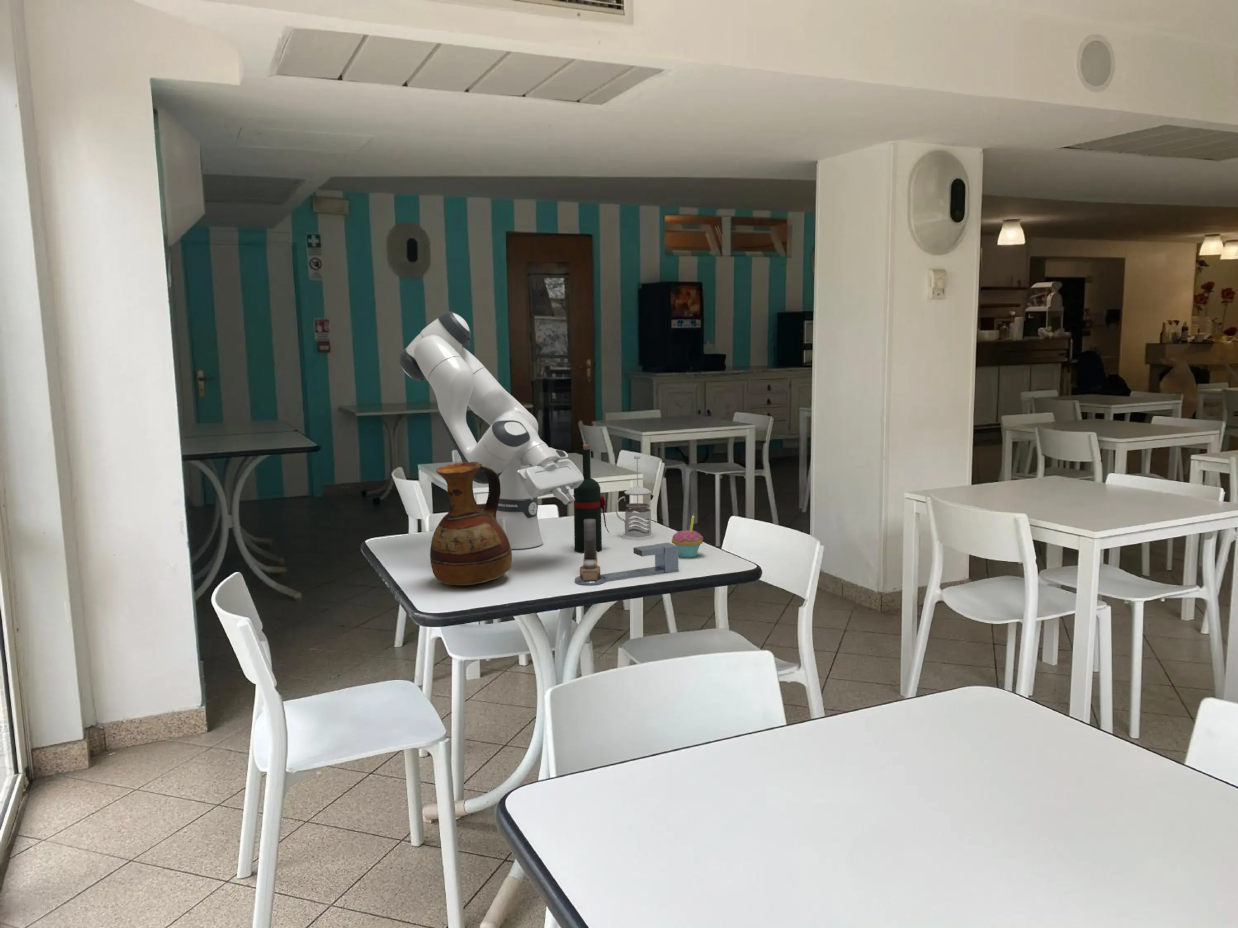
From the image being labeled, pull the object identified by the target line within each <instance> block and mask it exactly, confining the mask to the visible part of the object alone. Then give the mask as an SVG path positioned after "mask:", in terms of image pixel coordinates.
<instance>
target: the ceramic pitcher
mask: <svg viewBox="0 0 1238 928" xmlns="http://www.w3.org/2000/svg"><path fill="white" fill-rule="evenodd" d="M479 471H484V472H485V474H486V476H487V479H488V484H487V485H488V494H487V499H486V502H485V505H484V507H483V508H481V507H480V506H479V505H478V503H477V501H476V499H475V495H474V489H473V487H474V486H473V485H474V481H473V479H474V476H475V474H476V473H477V472H479ZM435 472H436V473H437V474H438V475H439V476H440V477H442V478H443V480H444V481H445V483H446V487H447V488H446V489H447V491H446V492H447V496H448V498H449V501H450V502H449V509H448V512H447V513H446V514H445V515H444V516H443V517H442V518H441V520H440V521H439V523H438V524H437V526H436V528H435V530H434V532H433V535H432V538H431V542H430V543H431V544H430V549H429V557H430V558H429V559H430V566H431V570H432V573H433V576H434V577H435V579H436V580H437V581H438V582H440V583H443V584H445V585H451V586H472V585H476V584H477V585H478V584H482V583H486V582H489V581H491V580H496V579H499V578H500V577H501V576H503V575H505V574H506V573H507V572H509V571H510V570H511V568H512V565H513V552H512V549H511V547H510V543H509V540H508V537H507V535H506V533H505V531H504V530H503V528H502V527H501V526H500V524H499V523H498V522H497V520H496V512H497V508H498V504H499V498H500V494H501V488H500V480H499V477H498V475H497V473H496V472H495V471H494V470H493V469H491V468H490V467H488V466H485V465H482V464H480V463H478V462H465V463H462V462H456V463H453V464H446V465H444V466H443V465H442V466H440V467H439V468H436V470H435Z"/></svg>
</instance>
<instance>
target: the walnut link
mask: <svg viewBox="0 0 1238 928" xmlns="http://www.w3.org/2000/svg"><path fill="white" fill-rule="evenodd" d="M582 560H583V562H582V566H580V567H579V576H580V578H581V579H583V581H590V580H597V579H599V578H600V575H601V566H600V565H598V552H597V551H596V520H595V519H584V553H583V559H582Z"/></svg>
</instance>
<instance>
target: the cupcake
mask: <svg viewBox="0 0 1238 928" xmlns="http://www.w3.org/2000/svg"><path fill="white" fill-rule="evenodd" d="M694 522H695V513H693V514H692V515H691V520H690V526H689V527H690V528H689V529H686V530H685V529H684V530H679V531H677V532H675V533H674V534H673V535H672V538H671V544H674V545H677V546H678V557H681V558H685V559H686V558H688V559H689V558H694V557H697V555H698V552H699V550H700V549H699V548H700V546H701V544H703V543H704V542H703V540H704V537H703V536H702V534H701V533H699V532H698V531H695V530H693V528H694Z"/></svg>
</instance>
